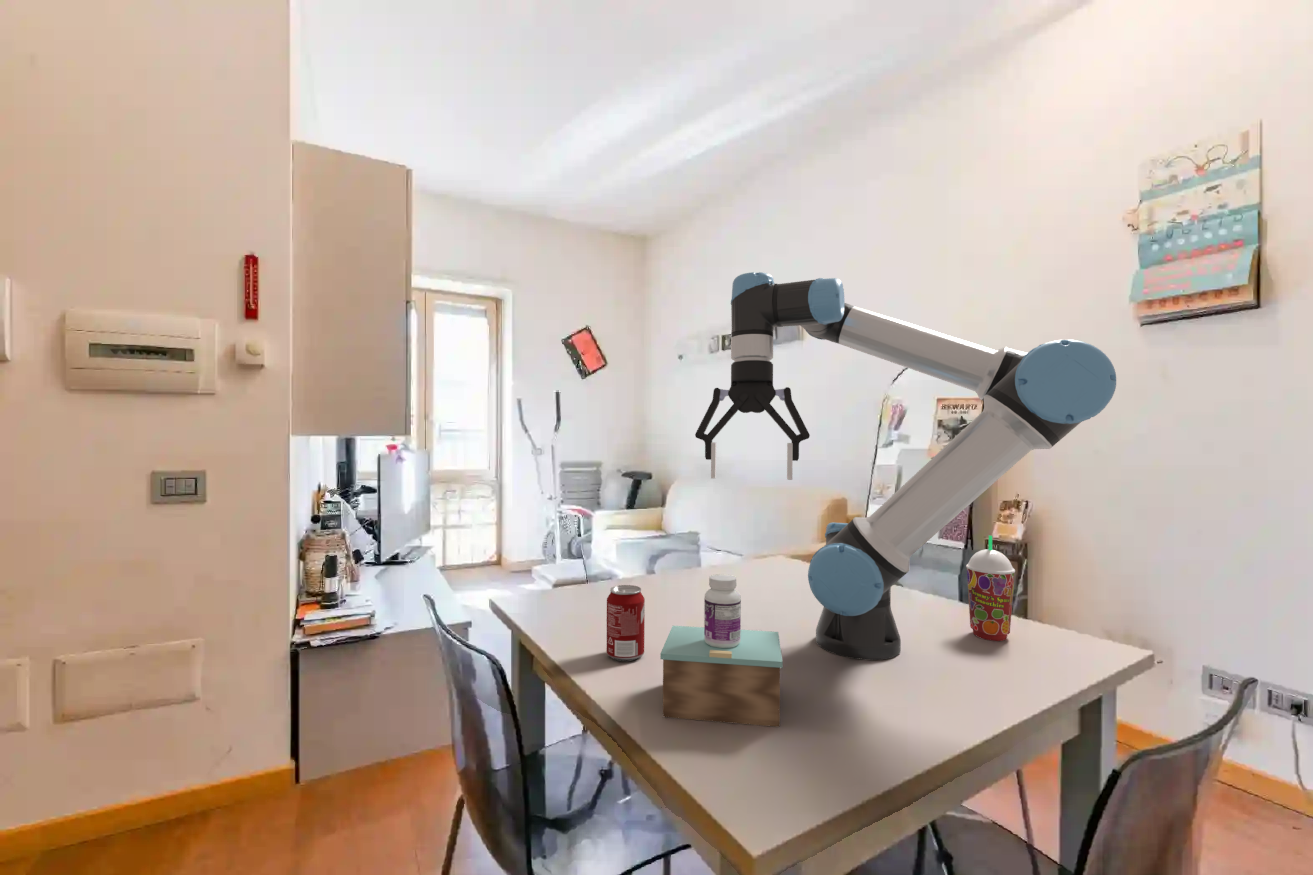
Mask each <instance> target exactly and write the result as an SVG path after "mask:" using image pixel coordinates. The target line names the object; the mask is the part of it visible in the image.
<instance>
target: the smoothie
mask: <svg viewBox="0 0 1313 875" xmlns="http://www.w3.org/2000/svg"><path fill="white" fill-rule="evenodd" d="M965 567H966V578H967V580H966V581H967V593H968V594H967V595H968V610H969V611H968V613H969V624H970V626H969V627H970V629H972V633H973V635H974V636H975V637H976V638H977V637H978V638H979V639H981V640H982V639H983V640H987V641H991V642H1001V641H1005V640H1007V637H1008V635H1009V634H1010V633H1011V625H1012V623H1011V622H1012V621H1011V620H1012V612H1013V611H1012V610H1013V598H1014V597H1013V596H1014V587H1015V586H1014V584H1015V572H1016V569H1015V568H1014V566H1013V565H1012V563H1011V561H1010V560H1009V559H1008V557H1007V556H1006V555H1005V554H1003V553H1002V552H1001V551H998V550H995V549H993V535H988V548H987V549H986V548H985V549H981V550H978V551H977V552H975V553H974V554H973V555H972V556H971V557H970V559H969V561H968V563H966V565H965Z"/></svg>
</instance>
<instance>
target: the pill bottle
mask: <svg viewBox="0 0 1313 875" xmlns="http://www.w3.org/2000/svg"><path fill="white" fill-rule="evenodd" d="M708 586H709V587H710V588H709V589H708V590H707V591H706V592H705V593H704V603H703V604H704V608H703V609H704V612H703V614H704V615H703V618H704V623H703V625H704V639H705V642H706V643H707V644H708V645H710V646H712V647H717V648H732V647H735V646H737V645H738V644H739V643H740V633H741V630H742V629H741V619H742V618H741V616H742V615H741V613H742V612H741V610H742V605H741V604H742V602H741V601H742V598H741V594H740V592H739V591H738V590H736V588H737V577H736V576H734V575H732V574H731V575H730V574H724V573H719V574H712V575H710V576H709V578H708Z"/></svg>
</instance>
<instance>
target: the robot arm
mask: <svg viewBox="0 0 1313 875" xmlns="http://www.w3.org/2000/svg"><path fill="white" fill-rule="evenodd" d="M731 288H732V290H731V300H730V305H731V309H730V310H731V314H730V315H731V316H730V317H731V334H730V335H731V337H730V338H731V339H730V341H731V342H730V343H731V344H730V347H731V348H730V359H731V360H732V361H733V362H732V363H730V387H729V389H722V388H719V387H715V388H714V389H713V393H712V400H711V402H710V404H709V407H708V408H707V410H706V411H705V414H704V416H703V418H702V419H701V421H700V423H699V426H698V428H697V430H696V432H695V434H694V435H695V438H697V439H699V440H701V441H703V442H704V458H705V460H708V461H709V460H710V479H716V478H717V442H713V440H714V439H715V438H716V436H717V435H718V434H719V433H720V432H721V431H722V430H723V428H724V427H725V426H726V425H727V424H728V422H729V421H731V419H732V418H733V417H734V415H736V413H737V412H738V411H739V412H741V413H743V414H748V413H756V414H760V413H763V412H764V411H765V412H766V413H767V414H768V416H770V417H771V418H772V420H773V421H774V423H776V424H777V425H778V427H779V428H780V429H781V430H782V431H783V433H784V434H785V435H786V436H787V437H788V438H789V439H790V442H787V444H786V450H787V451H786V452H787V453H786V454H787V455H786V457H787V460H786V478H787V479H786V480H789V481H792V480H793V462H798V460H799V458H800V443H801V442H802V441H805V440H808V439H809V438H810V436H811V435H810V433H809V431H808V428H807V427H806V425H805V423H804V421H803V418H802V417H801V415H800V413H799V411H798V409H797V407H796V405H795V403H794V401H793V398H792V391H791V388H790V387H789V386H788V387H787V386H786V387H784V388H780V389H779V388H777V389H775V388H774V363H773V362H772V361H771V360H773V359H774V328H777V327H778V328H782V327H796V326H800V327H801V328H803V329H804V331H805V332H806V333H807V334H808V335H809V336H811V337H813V338H815V339H817V340H822V341H825V340H826V341H829V342H831V343H835V344H838V345H842V346H844V347H848V348H850V349H853V350H856V351H859V352H861V353H865V354H867V355H869V356H872V357H876V358H879V359H881V360H885V361H886V362H891V363H893V364H896V365H899V366H902V367H905V368H908V369H911V370H912V371H916V372H917V373H918V372H919V373H921V374H924V375H928V376H930V377H933V378H936V379H938V380H941V381H945V382H948V383H951V384H953V385H956V386H959V387H961V388H965V389H968V390H971V391H973V392H975V393H976V394H977V396H978V398H979V400H981V401H983V410H982V411H981V412H980V413H979V414H978V415H977V417H975V418H974V419H972V421H971V422H970V423H968V424H967V425H966V427H964V428H963V429H962V430H961V431H960V432H959V433H957V435H956V436H954V437H953V438H952V440H950V441H949V442H948V443H947V444H946V445H945V446H944V447H943V448H941V450H940V451H939V452H937V454H935V455H933V457H932V458H931V459H930V460H929V461H928V462H926V464H924V465H923V466H922V467H921V468H920V469H919V470H918V471H917V472H916V473H915V474H914V475H913V476H912V477H911V478H910V479H908V480H906V481H907V482H905V483H904V484H903V485H902V486H901V487H900V488H899V489H898V490H896V491H895V493H894V494H892V495H891V496H890V497H889V498H888V499H887V500H885V502H884V503H883V504H882V505H880V506H879V507H878V508H877V509H876V510H875V511H874V512H872V514H871V515H870V516H867V517H862V516H854V517H853V519H852V520H850V522H848V523H847V522H829V523H828V524H826V528H825V533H824V538H825V544H824V546H822V547H820V548H819V549H818V550H817V551H816V552H814V554H813V555H812V558H811V560H810V562H809V566H808V570H807V580H808V585H809V588H810V591H811V593H812V595H813V597H814V598H815V599H816V600H817V601H818V603H820V604H821V606H822V607H823V608H822V611H821V614H820V617H819V620H818V622H817V625H816V628H815V642H816V644H817V645H818V646H819V647H820V648H821V649H823V650H825V651H827V652H829V653H832V654H835V655H838V656H842V657H845V658H849V659H855V660H856V659H857V660H865V661H866V660H869V661H871V660H873V661H874V660H875V661H877V660H887V659H891V658H894V657H896V656H898V655H900V653H901V649H902V648H901V645H902V644H901V643H902V642H901V636H900V633H899V629H898V627H897V623H896V621H895V617H894V615H893V611H892V606H891V592H892V591H891V589H892V587H893V586H894V585H895V584H896V583H897V582H899V581H900V580H901V579H902V578H903V577H905V575H906V574H907V573H909V572H910V558H911V557H912V556H913V554H914V553H915V552H917V551H918V550H919V549H920V548H921V547H923V546H924V545H925V544H926V543H928V541H930V540H931V539H932V538H933V537H934V536H935V535H936V534H938V533H939V532H940V531H941V530H942V529H943V528H944V527H946V526H947V524H949V523H950V522H952V520H954V518H956V517H957V516H958V515H959V514H960V513H961V512H962V511H964V510H965V509H966V508H967V507H968V506H969V505H971V504H972V503H973V502H974V501H975V500H976V499H978V497H980V496H981V495H982V494H983V493H984V492H986V490H988V489H989V488H990V487H991V486H992V485H994V483H996V482H998V480H999V479H1000V478H1001V477H1003V476H1004V475H1005V474H1006V473H1007V472H1008V471H1010V469H1012V468H1013V467H1014V466H1015V465H1016V464H1018V463H1019V462H1020V461H1021V460H1022V459H1023V458H1024V457H1026V456H1027V455H1028V454H1029V453H1030V452H1031V451H1034V450H1050V449H1052V447H1054V446H1055V445H1056V444H1057V443H1059V442H1060V441H1061V440H1062V439H1063V438H1064V437H1066V436H1067V435H1068V434H1069V433H1070V432H1072V431H1073V430H1074V429H1075V428H1076V427H1077V426H1079V425H1080V424H1081V423H1083V422H1084V421H1088V420H1090V419H1091V418H1094V417H1095V416H1097V415H1099V414H1100V413H1101V412H1102V411H1103V410H1104V409H1105V408H1106V407H1107V406H1108V404H1109V403H1110V401H1111V400H1112V398H1113V396H1114V394H1115V391H1116V389H1117V388H1116V387H1117V374H1116V370H1115V367H1114V365H1113V363H1112V361H1111V359H1110V358H1109V357H1108V356H1107V354H1106V353H1104V352H1103V351H1102V350H1101V349H1099V348H1098V347H1096V346H1095V345H1092V344H1091V343H1088V342H1085V341H1082V340H1078V339H1077V340H1075V339H1058V340H1053V341H1052V340H1051V341H1048V342H1045V343H1042V344H1039V345H1038V346H1036V347H1034V348H1032V349H1031V350H1029V351H1027V352H1026V351H1022V350H1018V349H1014V348H1011V347H1008V346H1004V347H1002V348H999V349H996V350H995V349H993V348H990V347H986V346H984V345H980V344H977V343H975V342H970V341H968V340H964V339H961V338H959V337H958V338H957V337H954V336H951V335H947V334H945V333H941V332H938V331H935V330H932V329H929V328H926V327H923V326H919V325H917V324H913V323H910V322H907V321H903V320H900V319H897V318H894V317H890V316H888V315H884V314H881V313H877V312H875V311H872V310H870V309H869V310H868V309H865V308H862V307H858V306H856V305H855V306H854V305H852V304H849V303H847V302H845V292H844V290H845V289H844V285H843V282H842V280H841V279H839V278H836V277H831V278H824V277H823V278H822V277H819V278H815V279H811V280H802V281H800V280H799V281H794V282H793V281H792V282H784V283H775V280H774V277H773V275H771V274H770V273H767V272H760V271H759V272H754V271H753V272H746V273H742V274H739V275H737V276H736V277H735V278H734V279H733V281H732V287H731ZM776 396H777V397H778V398H779V400H780V401H783V402H784V404H785V407H786V409H787V411H788V413H789V415H790V416H791V419H792V421H793V423H794V424H795V426H796V428H797V431H798V432H799V433H798V434H796V433H795V431H794V430H793V429H792V428H791V427H790V425H788V423H787V422H786V421H785V419H784V418H783V417H782V416H781V415H780V414H779V413H778V411H777V410H776V409H775V408H774V406H773V405H772V404H771V402H772V401H773V400H774V398H775V397H776ZM726 397H728V398H729V399H730V400H731V402H732V403H733V404H732V405H731V407H730V408H729V409H728V410H727V411H726V413H724V415H723V416H722V417H721V418H720V419H719V421H717V423H716V424H715V425H714V426H713V428H711V430H710V431H709V432H708V433H707V434H706V431H707V429H708V427H709V425H710V423H711V421H712V418H713V416H714V415H715V413H716V410H717V409H718V407H719V404H720V402H722V401H724V400H725V398H726Z"/></svg>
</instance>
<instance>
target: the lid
mask: <svg viewBox="0 0 1313 875" xmlns="http://www.w3.org/2000/svg"><path fill="white" fill-rule="evenodd" d="M659 655H660V656H659V658H660V660H662V661H663V660H677V661H691V662H705V663H720V664H734V665H748V666H762V667H776V668H780V669H783V666H784V665H783V657H782V656H783V655H782V649H781V643H780V636H779V631H768V630H753V629H751V630H750V629H741V633H740V643H739V644H738V645H737V646H735V647H732V648H717V647H712V646H710V645H708V644H707V643H706V642H705V639H704V627H702V626H701V627H700V626H684V625H672V626H671V629H670V630H669V633H668V636H667V638H666V640H665V642H664V645H663V647H662V649H661V652H660V654H659Z"/></svg>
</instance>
